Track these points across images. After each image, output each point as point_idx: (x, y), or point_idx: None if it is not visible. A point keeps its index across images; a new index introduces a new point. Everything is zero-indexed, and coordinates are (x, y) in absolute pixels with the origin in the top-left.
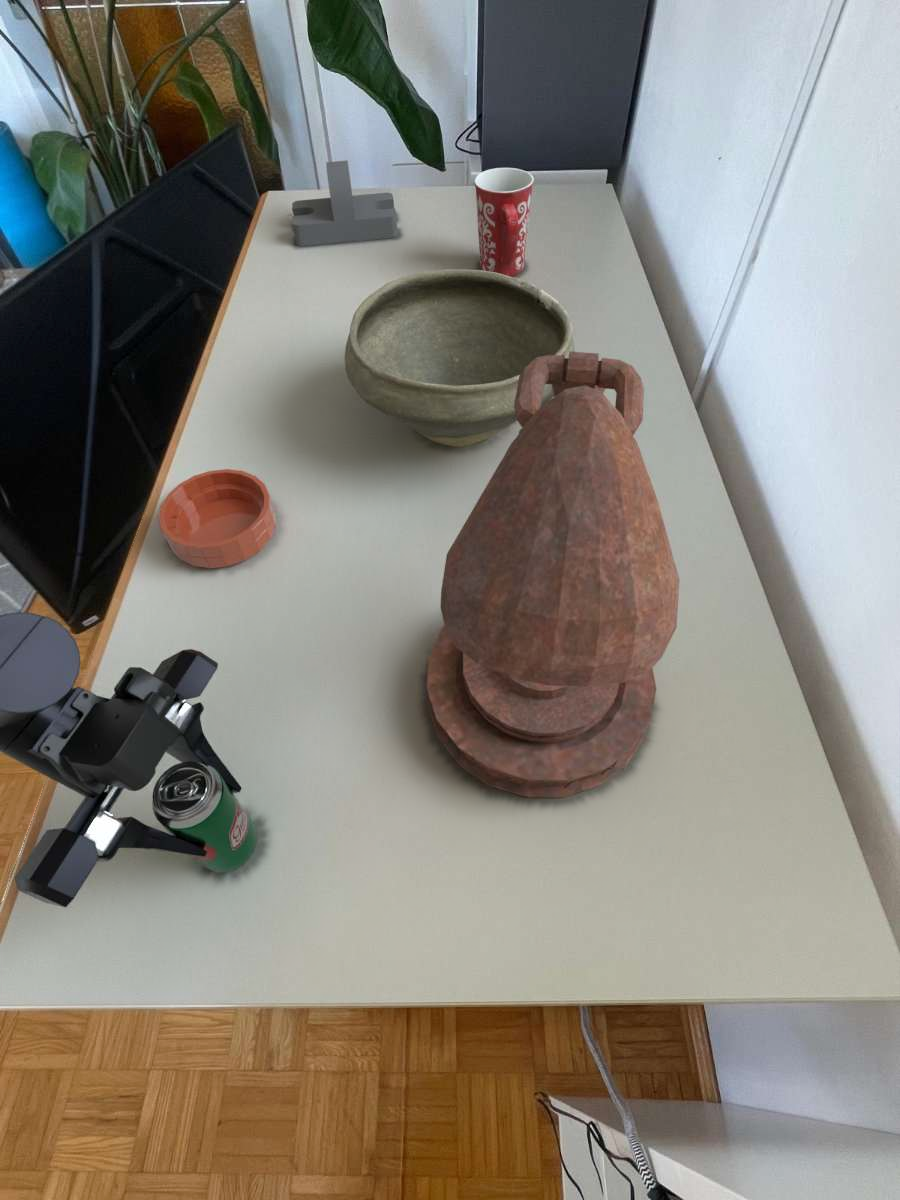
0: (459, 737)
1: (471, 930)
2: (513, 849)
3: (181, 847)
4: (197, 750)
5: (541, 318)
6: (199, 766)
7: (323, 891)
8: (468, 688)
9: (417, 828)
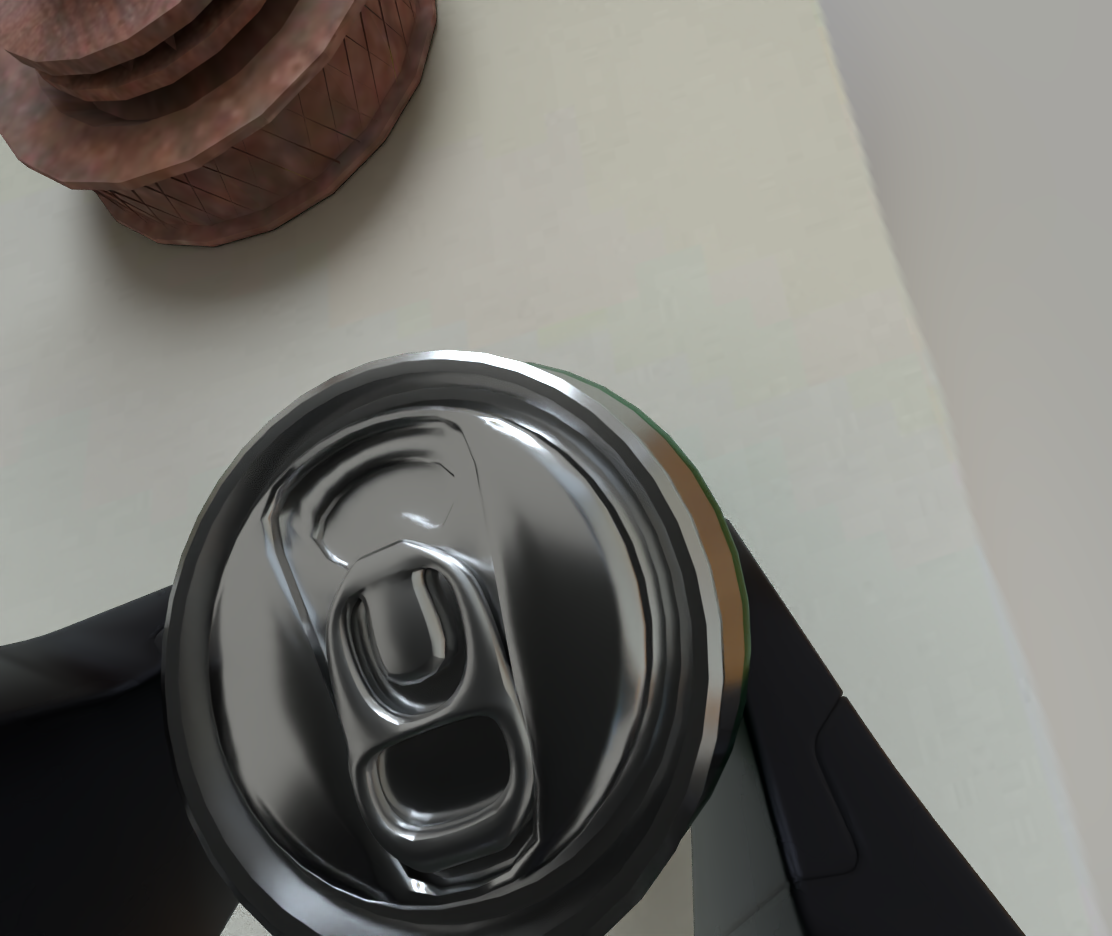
0: (302, 56)
1: (693, 27)
2: (533, 11)
3: (759, 602)
4: (153, 648)
5: None
6: (216, 558)
7: (669, 314)
8: (171, 25)
9: (512, 177)
